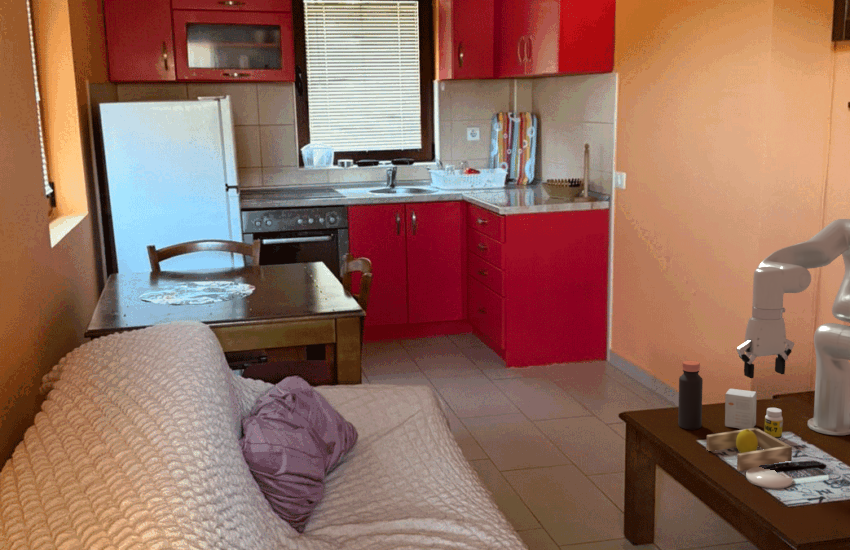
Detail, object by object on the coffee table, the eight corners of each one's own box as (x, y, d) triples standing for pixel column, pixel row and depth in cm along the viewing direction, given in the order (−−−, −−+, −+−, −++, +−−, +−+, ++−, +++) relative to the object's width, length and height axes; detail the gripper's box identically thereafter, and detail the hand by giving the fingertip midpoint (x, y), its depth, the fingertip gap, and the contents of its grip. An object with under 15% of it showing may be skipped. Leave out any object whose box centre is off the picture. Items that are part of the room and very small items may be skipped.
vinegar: (705, 428, 244) (707, 364, 241) (684, 431, 244) (685, 366, 240) (694, 421, 251) (696, 358, 247) (674, 423, 250) (675, 360, 246)
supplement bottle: (761, 437, 236) (762, 410, 235) (767, 433, 240) (768, 405, 238) (778, 441, 233) (779, 413, 231) (784, 436, 236) (785, 409, 235)
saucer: (773, 467, 216) (773, 464, 216) (802, 484, 206) (802, 481, 206) (737, 473, 214) (737, 470, 213) (764, 491, 203) (764, 487, 203)
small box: (756, 424, 246) (757, 391, 244) (752, 431, 242) (753, 397, 240) (728, 420, 250) (729, 387, 249) (724, 426, 246) (725, 393, 244)
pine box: (755, 442, 233) (756, 427, 232) (791, 462, 219) (792, 447, 218) (706, 450, 229) (706, 435, 228) (739, 471, 215) (740, 455, 214)
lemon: (758, 461, 221) (760, 433, 219) (737, 460, 222) (738, 432, 220) (755, 453, 226) (756, 425, 225) (734, 452, 227) (734, 425, 226)
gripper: (785, 307, 223) (782, 367, 227) (730, 313, 219) (728, 374, 222) (804, 313, 216) (801, 375, 219) (748, 319, 212) (745, 382, 215)
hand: (764, 374), depth 221 cm, fingers open, 9 cm apart
